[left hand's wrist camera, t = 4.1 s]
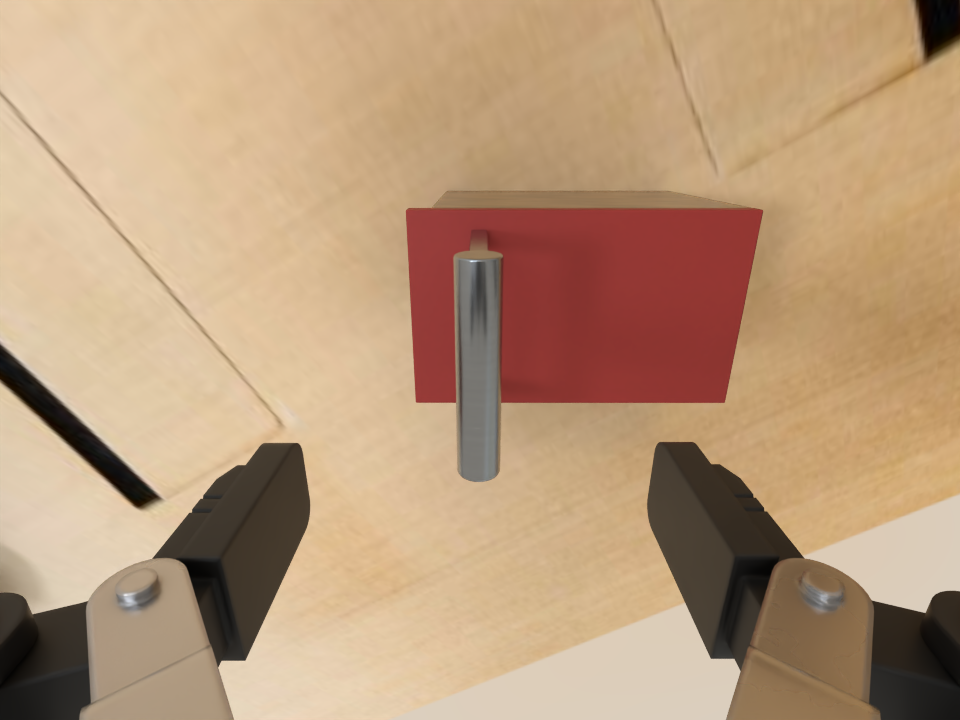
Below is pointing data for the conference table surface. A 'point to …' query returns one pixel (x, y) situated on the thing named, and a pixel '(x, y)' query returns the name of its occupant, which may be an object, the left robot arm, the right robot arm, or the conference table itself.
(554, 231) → the lid
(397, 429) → the conference table surface
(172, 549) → the left robot arm
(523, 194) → the chest
